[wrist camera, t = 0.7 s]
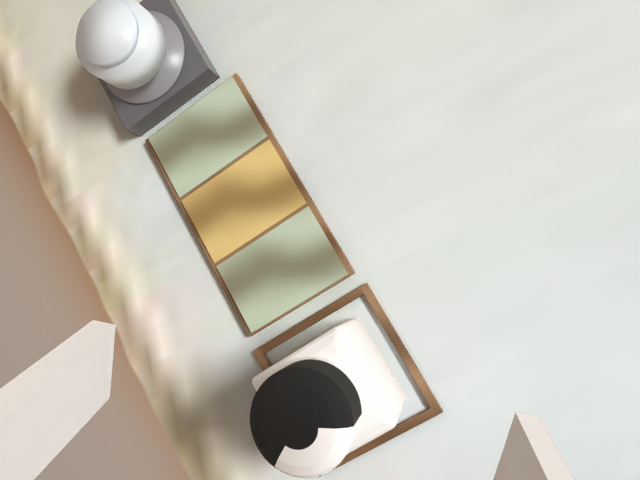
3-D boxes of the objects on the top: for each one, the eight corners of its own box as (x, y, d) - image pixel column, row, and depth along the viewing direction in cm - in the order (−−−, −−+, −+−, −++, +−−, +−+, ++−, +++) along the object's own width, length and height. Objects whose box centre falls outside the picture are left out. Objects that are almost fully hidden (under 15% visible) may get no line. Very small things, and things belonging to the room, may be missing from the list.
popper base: (219, 77, 43) (206, 66, 40) (140, 136, 44) (124, 129, 42) (173, -2, 44) (158, -17, 42) (98, 58, 46) (81, 47, 44)
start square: (442, 410, 36) (442, 412, 36) (320, 474, 38) (319, 476, 38) (367, 283, 38) (366, 283, 38) (254, 350, 40) (253, 351, 40)
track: (355, 273, 39) (353, 273, 38) (252, 335, 40) (248, 337, 40) (238, 75, 42) (234, 72, 41) (149, 141, 44) (143, 139, 43)
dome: (180, 57, 40) (156, 38, 36) (118, 105, 41) (89, 91, 38) (144, -6, 41) (118, -29, 38) (85, 42, 42) (55, 24, 39)
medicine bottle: (283, 361, 40) (213, 398, 28) (357, 315, 38) (316, 335, 27) (330, 442, 38) (276, 517, 27) (408, 397, 37) (387, 456, 25)
